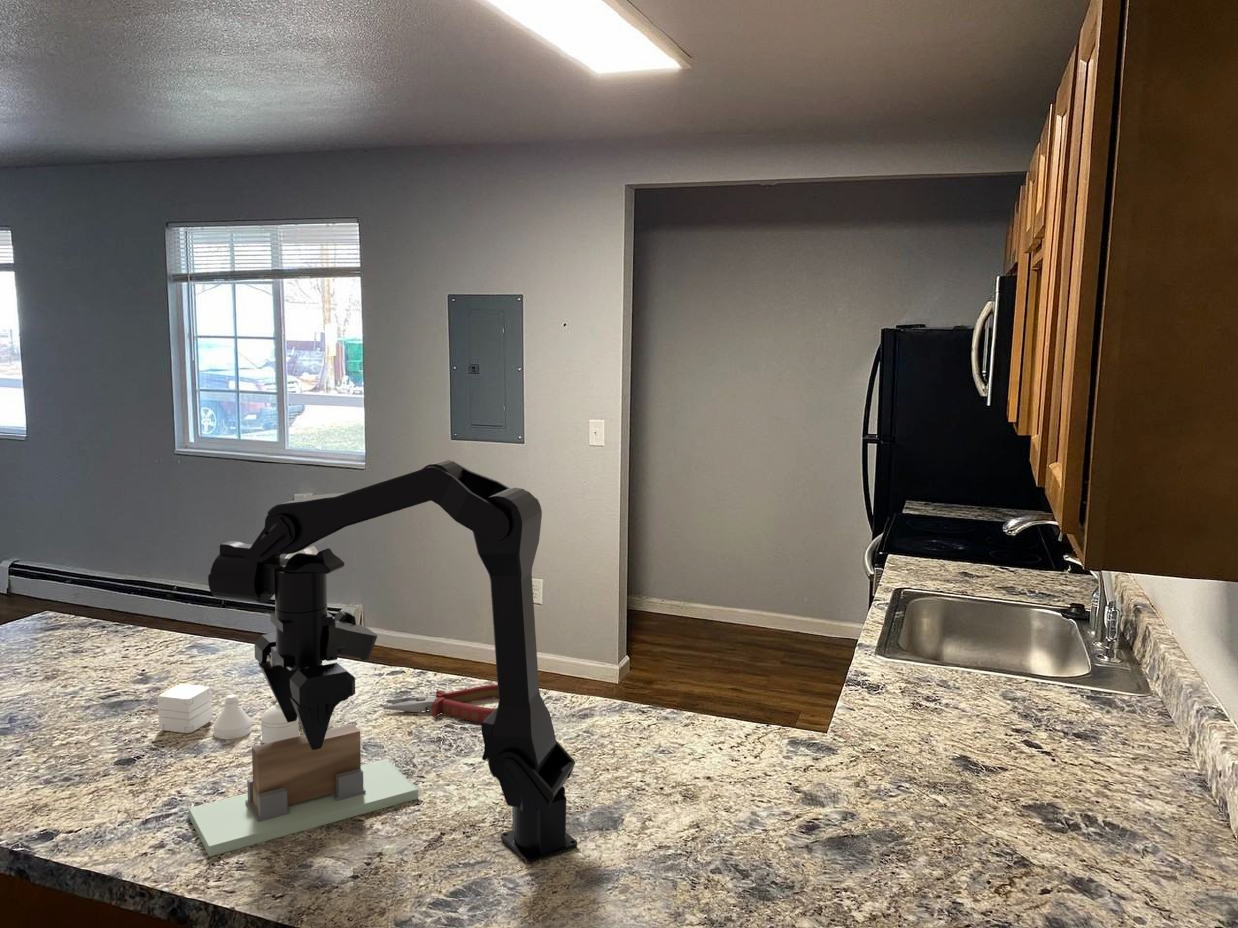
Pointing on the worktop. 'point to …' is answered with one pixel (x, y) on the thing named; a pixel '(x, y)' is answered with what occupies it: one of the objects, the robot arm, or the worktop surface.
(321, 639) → the robot arm
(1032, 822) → the worktop surface
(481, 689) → the pliers
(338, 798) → the hinge base
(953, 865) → the worktop surface
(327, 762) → the brown wooden block
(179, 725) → the container set
